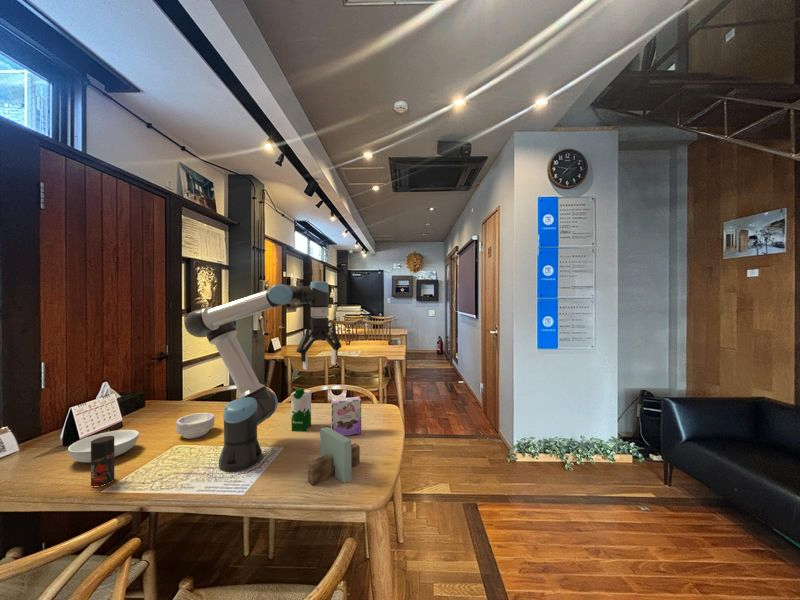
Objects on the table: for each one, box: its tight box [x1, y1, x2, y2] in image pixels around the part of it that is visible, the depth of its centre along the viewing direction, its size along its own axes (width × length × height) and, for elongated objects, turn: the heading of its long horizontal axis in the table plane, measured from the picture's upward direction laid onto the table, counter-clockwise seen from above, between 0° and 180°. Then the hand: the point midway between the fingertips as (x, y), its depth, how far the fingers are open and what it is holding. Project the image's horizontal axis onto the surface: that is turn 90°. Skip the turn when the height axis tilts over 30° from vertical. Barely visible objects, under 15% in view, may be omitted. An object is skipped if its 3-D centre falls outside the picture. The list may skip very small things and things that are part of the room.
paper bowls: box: [175, 412, 215, 440], centre depth 146 cm, size 15×15×8 cm
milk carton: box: [290, 387, 312, 432], centre depth 153 cm, size 9×9×20 cm
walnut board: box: [307, 443, 361, 486], centre depth 113 cm, size 20×3×7 cm, turn 134°
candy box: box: [330, 396, 362, 437], centre depth 146 cm, size 14×6×16 cm, turn 105°
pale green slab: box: [319, 426, 352, 484], centre depth 113 cm, size 3×16×14 cm, turn 44°
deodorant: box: [90, 436, 115, 488], centre depth 108 cm, size 6×6×15 cm
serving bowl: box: [67, 429, 140, 463], centre depth 126 cm, size 21×21×7 cm
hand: (320, 366), depth 133 cm, fingers open, 13 cm apart
